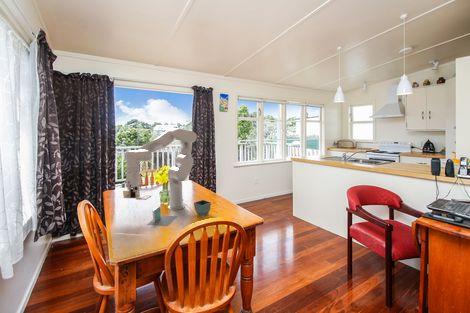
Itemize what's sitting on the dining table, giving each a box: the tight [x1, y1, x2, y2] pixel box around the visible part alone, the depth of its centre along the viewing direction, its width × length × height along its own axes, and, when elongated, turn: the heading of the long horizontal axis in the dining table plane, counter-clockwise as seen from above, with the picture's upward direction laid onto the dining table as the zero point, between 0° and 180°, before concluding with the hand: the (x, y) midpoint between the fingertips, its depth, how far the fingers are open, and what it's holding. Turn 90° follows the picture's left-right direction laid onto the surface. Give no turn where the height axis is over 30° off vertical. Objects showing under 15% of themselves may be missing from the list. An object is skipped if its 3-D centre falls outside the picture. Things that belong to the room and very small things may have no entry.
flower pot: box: [193, 199, 212, 217], centre depth 157 cm, size 9×9×9 cm
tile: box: [152, 205, 162, 223], centre depth 147 cm, size 8×1×8 cm, turn 173°
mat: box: [146, 214, 178, 227], centre depth 147 cm, size 16×14×1 cm
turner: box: [122, 189, 152, 201], centre depth 149 cm, size 17×7×5 cm, turn 82°
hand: (134, 196), depth 149 cm, fingers closed on turner, 2 cm apart
